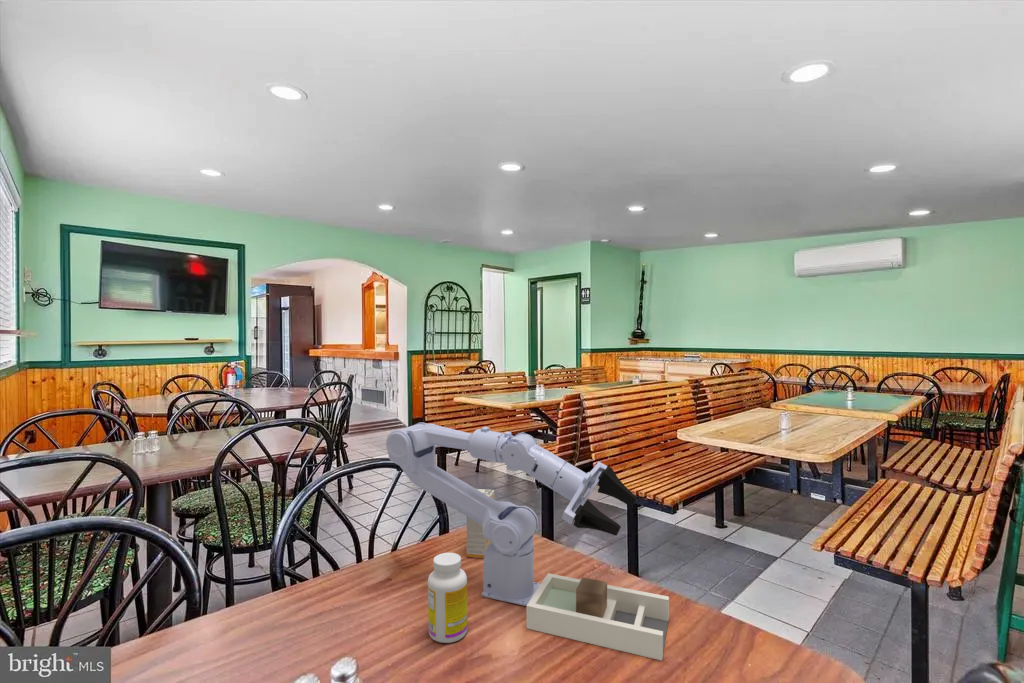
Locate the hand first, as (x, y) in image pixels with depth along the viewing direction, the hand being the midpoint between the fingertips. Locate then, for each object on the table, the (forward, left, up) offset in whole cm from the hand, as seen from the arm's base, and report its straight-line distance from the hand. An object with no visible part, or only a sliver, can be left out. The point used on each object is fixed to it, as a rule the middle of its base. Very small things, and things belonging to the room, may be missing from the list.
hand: (627, 516), depth 89 cm
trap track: (-4, -3, -19) cm, 19 cm away
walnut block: (-6, -3, -17) cm, 18 cm away
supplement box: (-36, +15, -19) cm, 43 cm away
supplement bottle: (-28, -15, -19) cm, 37 cm away
